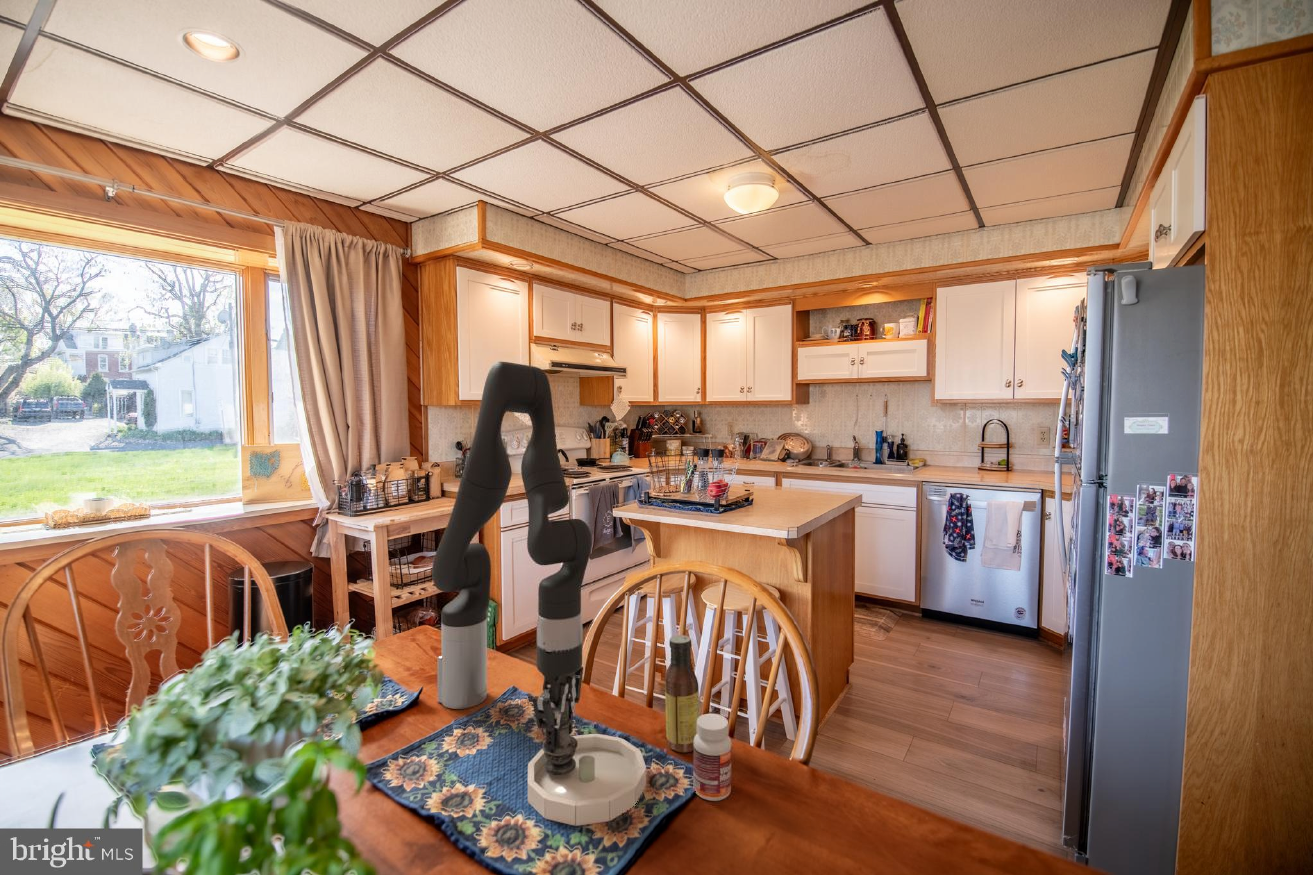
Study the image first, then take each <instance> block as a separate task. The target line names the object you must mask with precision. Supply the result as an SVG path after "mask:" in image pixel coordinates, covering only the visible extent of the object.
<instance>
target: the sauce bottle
mask: <svg viewBox="0 0 1313 875" xmlns="http://www.w3.org/2000/svg"><path fill="white" fill-rule="evenodd" d="M692 645H693V644H692V638H691V637H690V636H688V635H685V634H684V635H682V634H681V635H679V634H678V635H673V636H671V637H670V638H669V648H670V663H669V666H668V668H666V673H665V677H664V678H665V679H664V681H665V682H664V683H665V690H664V692H665V693H664V698H665V729H666V731H665V732H666V734H665V736H666V738H667V745H668V747H669V749H671V750H674V751H675V752H677V753H690V752H694V745H693V744H694V737H695V735H696V734H697V731H696V729H697V719H698V718H699V717H700V696H699V695H700V691H699V682H698V678H697V676H696V674H695V670H694V666H693V663H692V658H691V657H692V656H691V655H692V654H691V651H692V650H691V649H692V648H691V647H692Z"/></svg>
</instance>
